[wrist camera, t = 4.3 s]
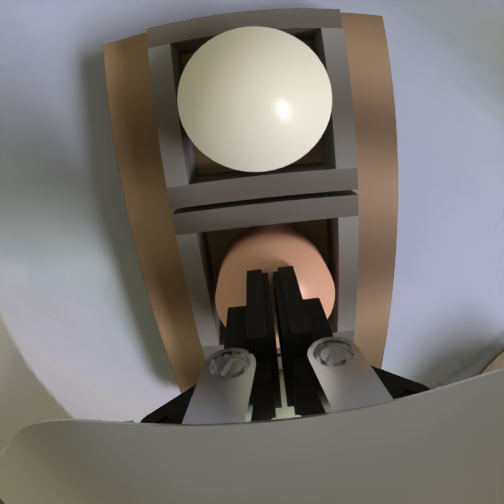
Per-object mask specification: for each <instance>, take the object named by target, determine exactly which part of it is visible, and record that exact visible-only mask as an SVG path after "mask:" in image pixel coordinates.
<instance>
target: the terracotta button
mask: <svg viewBox="0 0 504 504" xmlns="http://www.w3.org/2000/svg"><path fill="white" fill-rule="evenodd" d="M285 266H293V267H294V271H295V274H296V277H297V281H298V284H299V288H300V291H301V294H302V298H303V299H310V298H319V299H320V301H321V303H322V306H323V309H324V312H325V314H326V317H327V319H328V317H329V316H330V314H331V311H332V309H333V305H334V301H335V287H334V283H333V279H332V277H331V274H330V272H329V270H328V268H327V266H326V264H325V262H324V260H323V258H322V256H321V254H320V252H319V251H318V249H317V247H316V245H315V244H314V242H313V241H312V240H311V239H310V238H309V237H308V236H307V235H306V234H305V233H303V232H302V231H300V230H298V229H296V228H294V227H291V226H289V225H284V224H270V225H260V226H254V227H252V228H249V229H247V230H245V231H244V232H242V233H241V234H239V235H238V236H237V237H236V238H235V239H234V240H233V241H232V242H231V243H230V244H229V246H228V247H227V249H226V251H225V253H224V255H223V258H222V262H221V267H220V272H219V278H218V283H217V289H216V295H215V302H216V309H217V312H218V315H219V317H220V320H221V321H222V323H223V324H224V326H225V327H226V322H227V312H228V308H229V307H237V306H246V282H247V271H248V270H258V269H262V273H267V272H268V278H269V286H270V294H271V302H272V310H273V318H274V326H275V335H276V345H277V348H280V345H279V337H278V326H277V315H276V304H275V293H274V282H273V272H276V271H278V267H285Z"/></svg>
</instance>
